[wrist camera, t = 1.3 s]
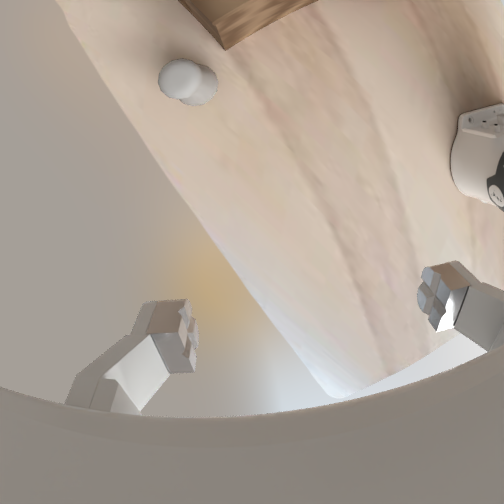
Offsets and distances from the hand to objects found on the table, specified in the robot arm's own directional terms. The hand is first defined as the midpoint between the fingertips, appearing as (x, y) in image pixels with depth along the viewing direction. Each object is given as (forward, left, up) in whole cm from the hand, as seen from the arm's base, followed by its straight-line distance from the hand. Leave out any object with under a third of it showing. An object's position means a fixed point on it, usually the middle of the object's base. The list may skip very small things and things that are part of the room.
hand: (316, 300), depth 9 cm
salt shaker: (+2, -12, -33) cm, 36 cm away
